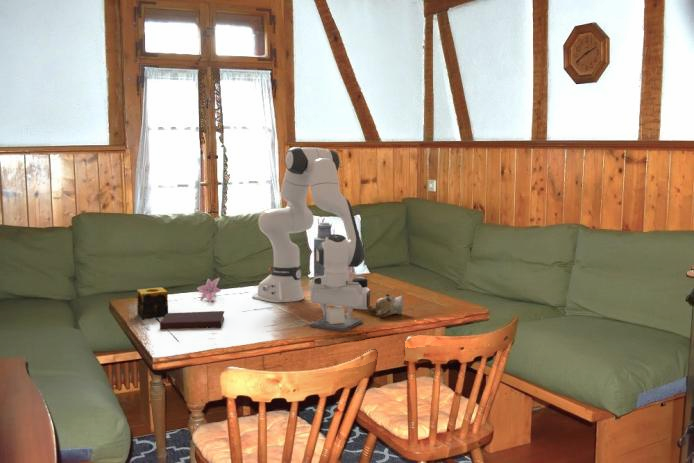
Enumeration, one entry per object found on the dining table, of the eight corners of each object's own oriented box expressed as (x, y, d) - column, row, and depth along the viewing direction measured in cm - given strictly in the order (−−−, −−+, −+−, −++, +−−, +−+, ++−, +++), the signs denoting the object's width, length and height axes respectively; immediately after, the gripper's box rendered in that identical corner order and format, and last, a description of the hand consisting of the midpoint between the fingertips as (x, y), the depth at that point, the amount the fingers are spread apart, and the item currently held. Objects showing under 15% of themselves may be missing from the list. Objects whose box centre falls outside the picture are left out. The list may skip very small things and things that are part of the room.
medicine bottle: (367, 309, 277) (367, 280, 275) (349, 309, 278) (349, 279, 277) (370, 305, 284) (370, 276, 282) (352, 305, 285) (352, 276, 284)
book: (221, 329, 250) (221, 319, 250) (159, 331, 248) (159, 321, 248) (224, 320, 264) (224, 310, 264) (166, 321, 262) (166, 311, 262)
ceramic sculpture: (410, 293, 265) (375, 300, 259) (411, 315, 266) (377, 322, 260) (395, 289, 275) (362, 295, 268) (396, 310, 276) (363, 316, 269)
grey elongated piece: (309, 287, 321) (309, 222, 317) (325, 284, 328) (325, 220, 324) (323, 290, 314) (322, 224, 310) (339, 287, 321) (339, 222, 317)
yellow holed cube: (142, 320, 262) (140, 294, 261) (136, 314, 271) (135, 289, 270) (169, 316, 267) (168, 291, 266) (162, 311, 276) (162, 286, 275)
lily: (196, 299, 301) (191, 284, 296) (218, 287, 306) (213, 272, 300) (208, 311, 293) (202, 296, 288) (230, 299, 298) (225, 283, 293)
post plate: (310, 326, 251) (310, 314, 251) (329, 318, 264) (329, 306, 263) (344, 331, 245) (344, 318, 244) (362, 322, 257) (362, 310, 256)
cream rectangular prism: (326, 320, 255) (326, 306, 255) (340, 319, 257) (340, 305, 256) (330, 324, 250) (330, 309, 249) (344, 322, 252) (344, 308, 251)
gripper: (365, 280, 250) (365, 318, 252) (317, 275, 260) (317, 312, 261) (357, 284, 244) (357, 322, 246) (308, 278, 254) (308, 315, 256)
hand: (336, 317), depth 254 cm, fingers closed on cream rectangular prism, 8 cm apart
